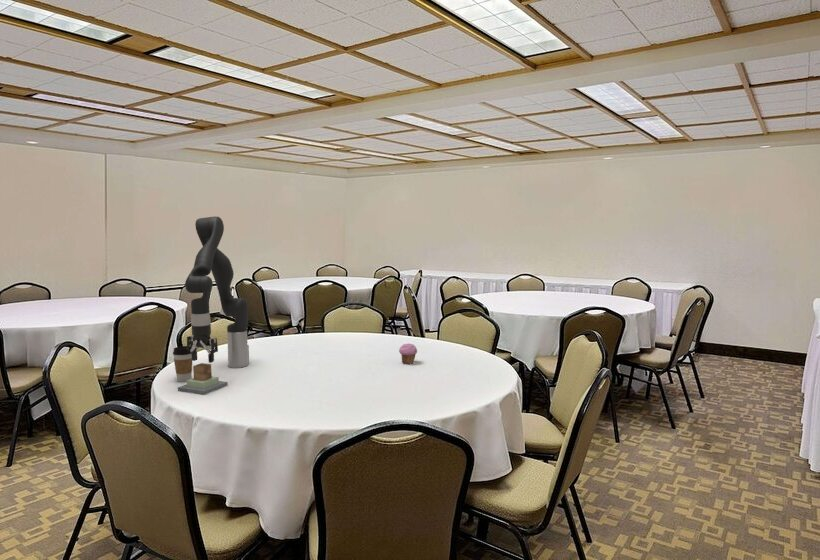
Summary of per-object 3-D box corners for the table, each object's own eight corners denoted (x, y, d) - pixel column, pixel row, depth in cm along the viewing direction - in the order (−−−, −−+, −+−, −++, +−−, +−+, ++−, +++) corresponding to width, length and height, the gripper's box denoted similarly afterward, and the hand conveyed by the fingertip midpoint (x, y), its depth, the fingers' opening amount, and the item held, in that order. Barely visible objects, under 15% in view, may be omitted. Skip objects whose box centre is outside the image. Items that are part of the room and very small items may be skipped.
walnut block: (202, 376, 237) (201, 363, 236) (211, 377, 235) (211, 364, 234) (193, 379, 232) (193, 365, 231) (203, 381, 230) (202, 367, 230)
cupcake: (396, 364, 274) (396, 344, 273) (404, 360, 281) (404, 340, 280) (412, 366, 270) (412, 346, 269) (420, 362, 277) (420, 342, 276)
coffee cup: (172, 383, 240) (171, 349, 239) (175, 378, 248) (173, 345, 247) (193, 382, 242) (191, 348, 241) (195, 376, 251) (194, 344, 249)
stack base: (201, 381, 243) (201, 372, 243) (227, 385, 238) (227, 376, 237) (177, 390, 230) (177, 381, 230) (204, 394, 225) (204, 385, 224)
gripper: (220, 323, 232) (222, 360, 234) (194, 320, 237) (196, 357, 239) (208, 326, 225) (210, 365, 227) (181, 324, 230) (183, 362, 232)
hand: (202, 361), depth 233 cm, fingers open, 8 cm apart
